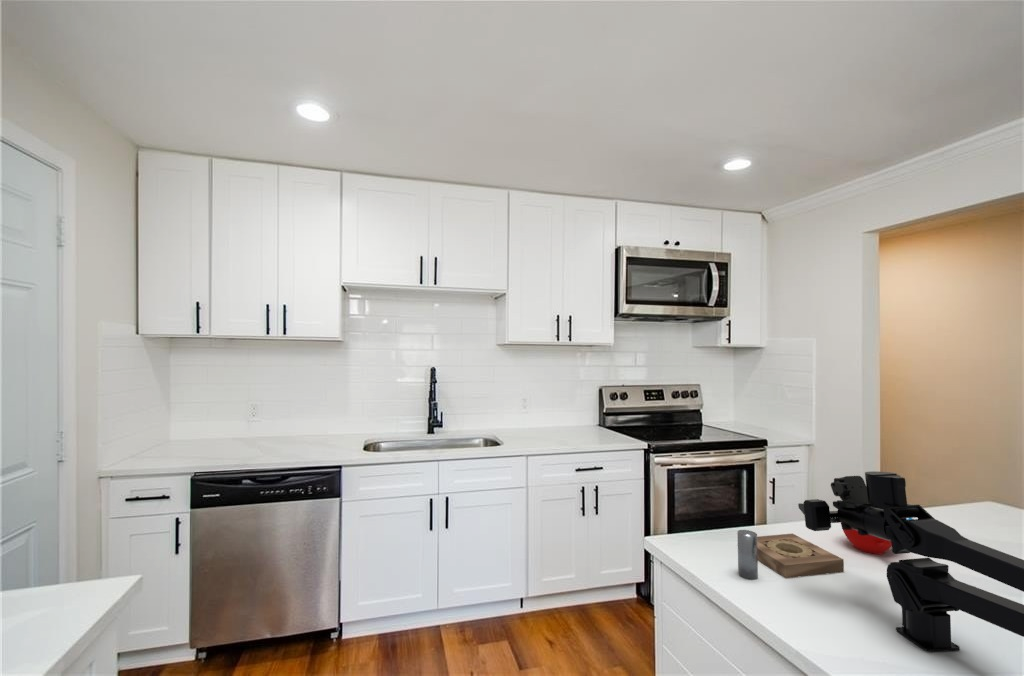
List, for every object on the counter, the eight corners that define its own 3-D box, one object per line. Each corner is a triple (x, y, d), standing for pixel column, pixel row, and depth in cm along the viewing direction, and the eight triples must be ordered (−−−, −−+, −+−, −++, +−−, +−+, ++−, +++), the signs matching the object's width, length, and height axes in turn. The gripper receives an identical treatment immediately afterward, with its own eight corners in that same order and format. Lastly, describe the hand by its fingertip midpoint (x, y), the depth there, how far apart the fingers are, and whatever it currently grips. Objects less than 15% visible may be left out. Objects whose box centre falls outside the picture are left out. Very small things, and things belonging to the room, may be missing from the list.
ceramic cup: (860, 563, 116) (859, 523, 116) (831, 537, 132) (830, 501, 132) (921, 569, 113) (920, 527, 113) (883, 541, 129) (882, 505, 129)
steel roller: (761, 579, 108) (760, 536, 109) (744, 580, 108) (743, 537, 108) (751, 570, 112) (750, 529, 113) (734, 571, 112) (733, 530, 112)
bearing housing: (843, 571, 112) (843, 559, 112) (785, 578, 109) (785, 565, 109) (792, 544, 127) (792, 533, 127) (740, 549, 125) (740, 538, 125)
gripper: (909, 479, 98) (847, 468, 113) (830, 483, 95) (777, 471, 111) (916, 534, 96) (852, 515, 112) (836, 540, 94) (782, 520, 109)
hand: (816, 504), depth 111 cm, fingers open, 9 cm apart
